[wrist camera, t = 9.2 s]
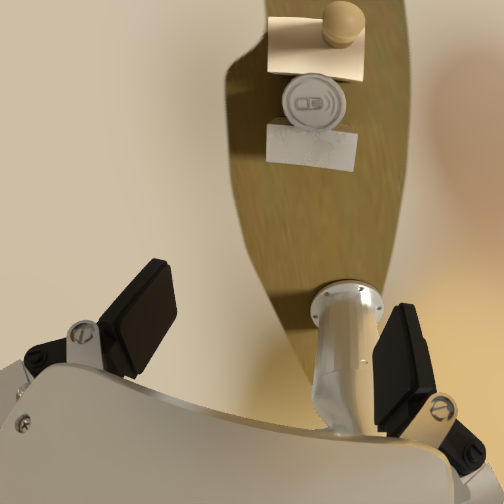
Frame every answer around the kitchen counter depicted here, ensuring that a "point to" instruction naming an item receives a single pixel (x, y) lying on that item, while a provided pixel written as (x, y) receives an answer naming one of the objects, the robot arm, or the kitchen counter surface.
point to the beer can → (313, 102)
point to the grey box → (311, 145)
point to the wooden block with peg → (319, 44)
